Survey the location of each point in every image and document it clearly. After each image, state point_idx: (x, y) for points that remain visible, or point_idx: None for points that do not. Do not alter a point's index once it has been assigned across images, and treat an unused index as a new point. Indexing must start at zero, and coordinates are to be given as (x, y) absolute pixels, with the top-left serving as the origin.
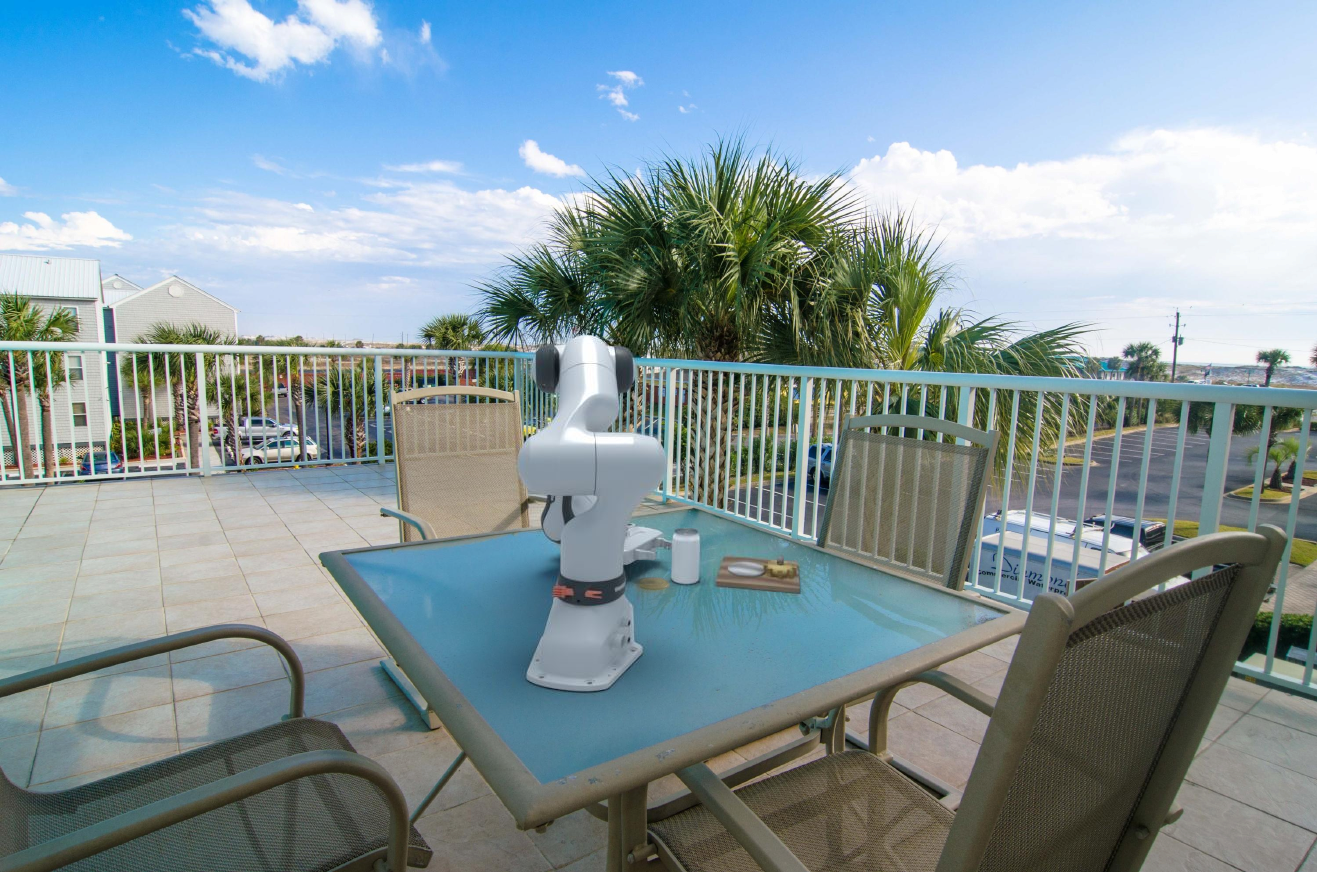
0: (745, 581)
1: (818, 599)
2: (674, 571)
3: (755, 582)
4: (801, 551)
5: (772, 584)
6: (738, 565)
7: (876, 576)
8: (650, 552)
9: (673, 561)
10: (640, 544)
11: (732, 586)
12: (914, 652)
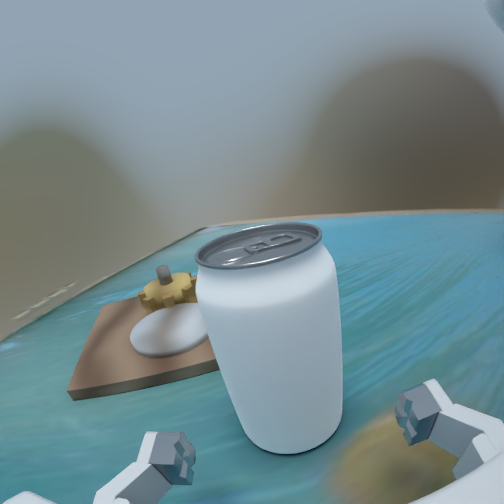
0: None
1: None
2: (341, 398)
3: None
4: (40, 326)
5: None
6: (158, 338)
7: (136, 269)
8: (441, 391)
9: (337, 377)
10: (433, 494)
11: None
12: (322, 217)
